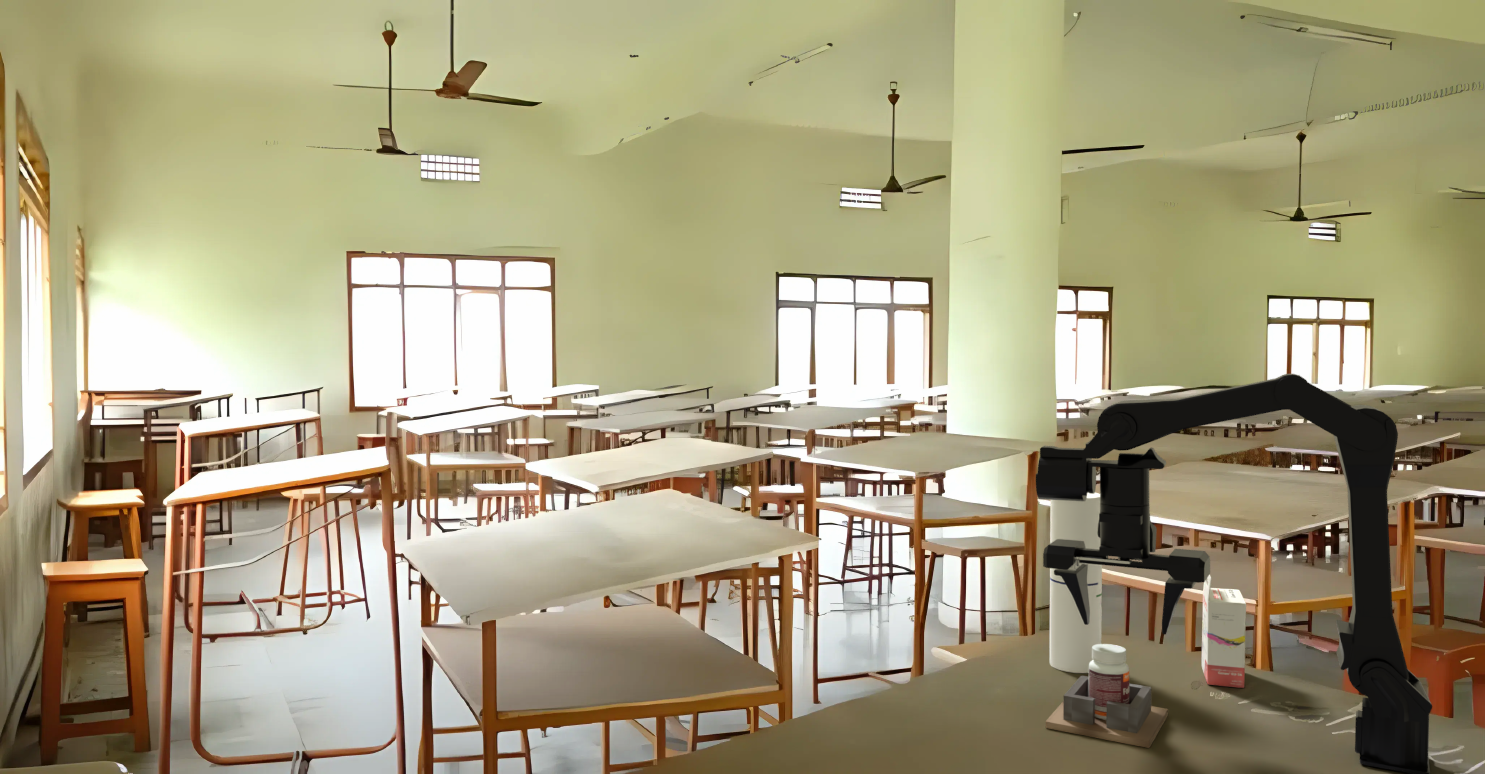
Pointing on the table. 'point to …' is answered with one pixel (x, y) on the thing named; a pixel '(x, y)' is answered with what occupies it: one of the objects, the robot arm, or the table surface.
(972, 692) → the table surface
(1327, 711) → the table surface
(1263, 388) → the robot arm
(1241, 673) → the white cardboard box
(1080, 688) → the bottle holder
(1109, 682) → the pill bottle
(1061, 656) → the cylindrical container
